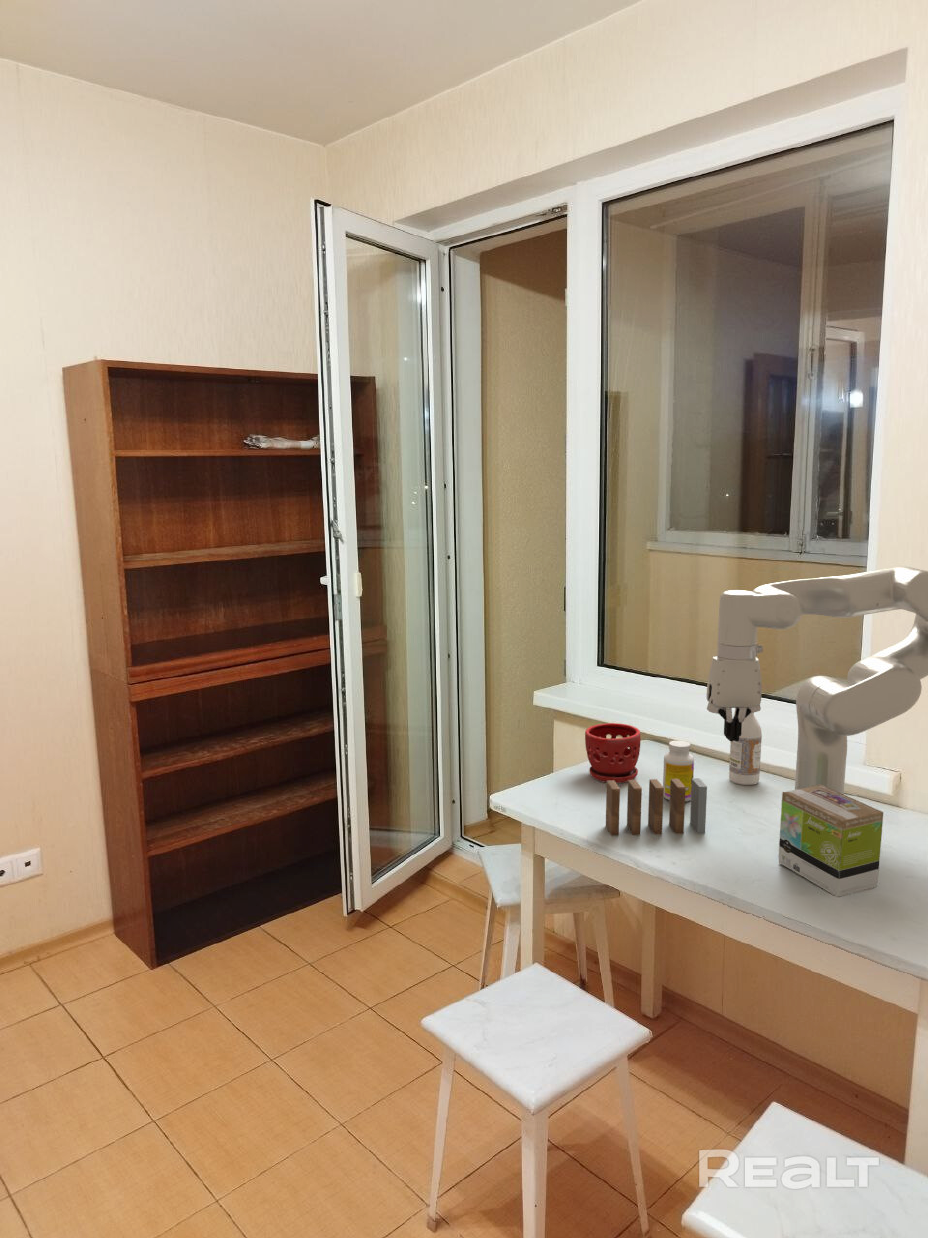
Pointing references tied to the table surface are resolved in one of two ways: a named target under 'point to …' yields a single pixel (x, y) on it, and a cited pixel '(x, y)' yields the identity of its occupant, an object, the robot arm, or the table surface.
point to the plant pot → (613, 751)
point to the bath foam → (746, 753)
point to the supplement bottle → (678, 767)
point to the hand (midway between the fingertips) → (732, 739)
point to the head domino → (698, 805)
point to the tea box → (830, 839)
